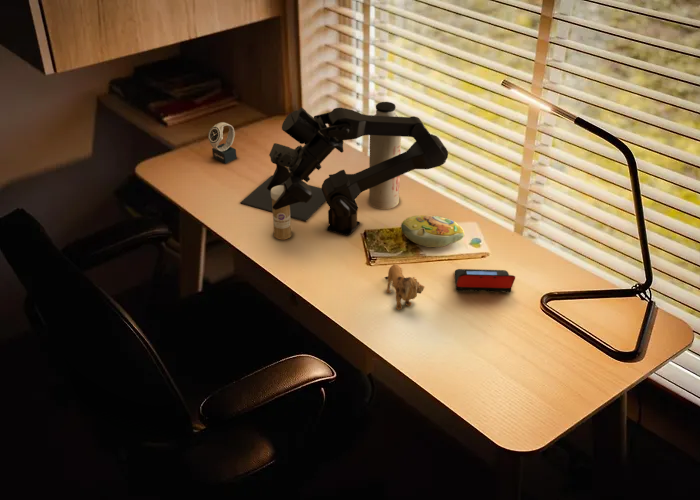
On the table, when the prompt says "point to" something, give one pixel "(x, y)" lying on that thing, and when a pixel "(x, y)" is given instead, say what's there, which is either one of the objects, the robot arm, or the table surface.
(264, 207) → the desk mat
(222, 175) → the table surface
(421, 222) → the cell model
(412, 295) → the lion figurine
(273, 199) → the sprinkles bottle
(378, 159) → the thermos bottle
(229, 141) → the watch
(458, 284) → the handheld console
